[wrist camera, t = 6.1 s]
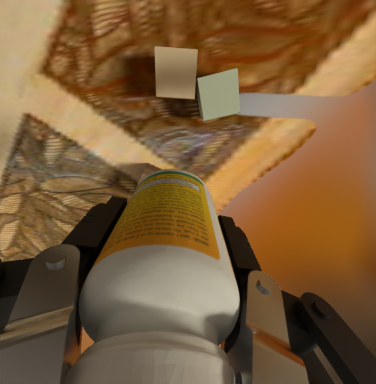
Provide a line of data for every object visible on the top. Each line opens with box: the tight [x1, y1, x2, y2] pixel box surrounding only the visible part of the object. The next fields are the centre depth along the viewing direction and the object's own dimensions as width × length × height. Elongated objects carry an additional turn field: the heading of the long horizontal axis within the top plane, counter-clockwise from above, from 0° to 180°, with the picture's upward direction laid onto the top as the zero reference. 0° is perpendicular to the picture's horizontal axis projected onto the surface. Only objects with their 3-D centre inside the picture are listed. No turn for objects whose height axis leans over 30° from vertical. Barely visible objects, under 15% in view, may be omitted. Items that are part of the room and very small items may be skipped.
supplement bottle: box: [64, 169, 240, 384], centre depth 7 cm, size 5×5×10 cm
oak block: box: [155, 46, 198, 99], centre depth 22 cm, size 5×5×5 cm
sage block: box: [195, 68, 240, 121], centre depth 24 cm, size 5×5×5 cm
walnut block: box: [135, 163, 162, 190], centre depth 30 cm, size 5×5×5 cm
